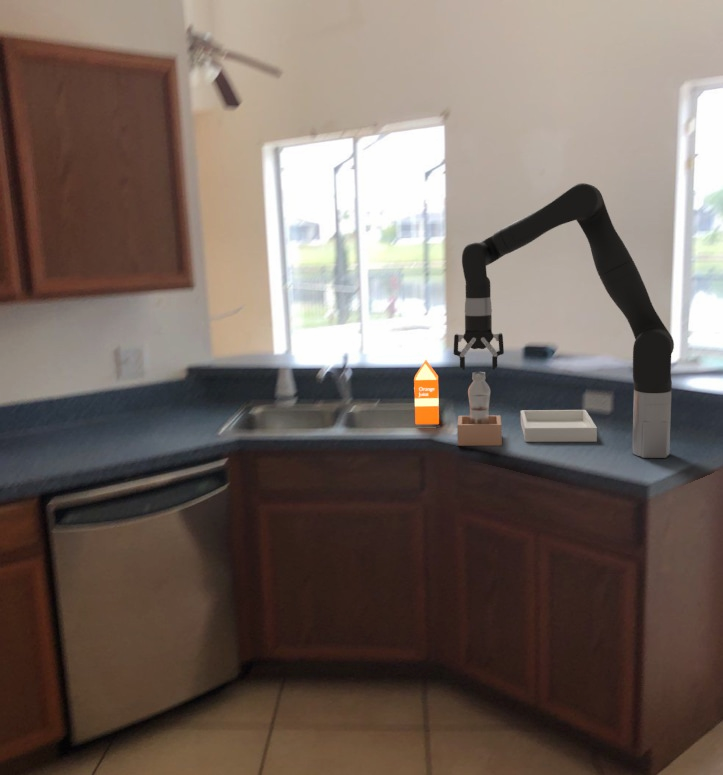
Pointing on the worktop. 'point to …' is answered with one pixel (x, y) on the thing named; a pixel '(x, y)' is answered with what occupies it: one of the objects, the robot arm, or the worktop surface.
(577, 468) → the worktop surface
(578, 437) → the plastic tray
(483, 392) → the plastic bottle
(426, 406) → the orange juice
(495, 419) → the terracotta holder
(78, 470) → the worktop surface
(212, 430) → the worktop surface
